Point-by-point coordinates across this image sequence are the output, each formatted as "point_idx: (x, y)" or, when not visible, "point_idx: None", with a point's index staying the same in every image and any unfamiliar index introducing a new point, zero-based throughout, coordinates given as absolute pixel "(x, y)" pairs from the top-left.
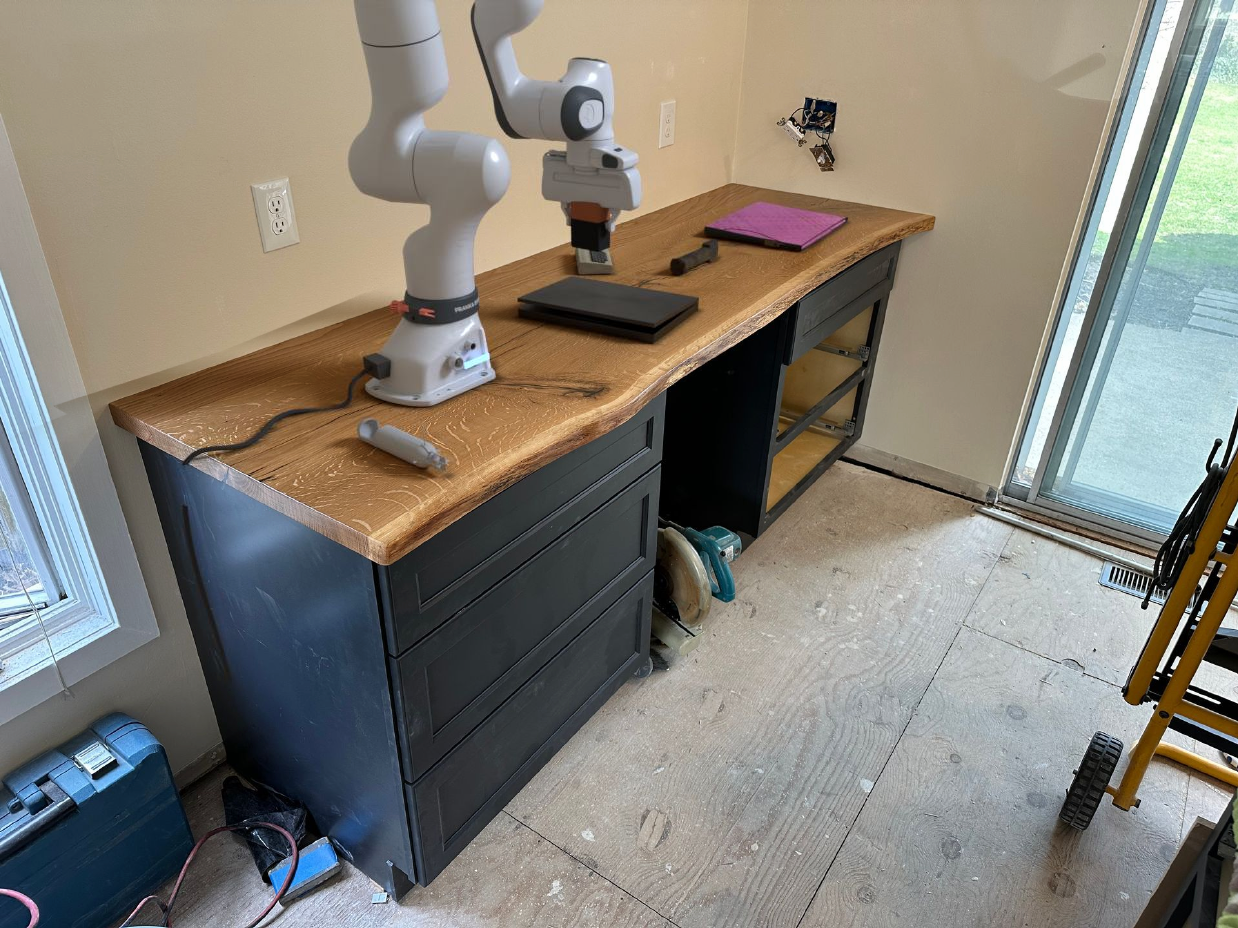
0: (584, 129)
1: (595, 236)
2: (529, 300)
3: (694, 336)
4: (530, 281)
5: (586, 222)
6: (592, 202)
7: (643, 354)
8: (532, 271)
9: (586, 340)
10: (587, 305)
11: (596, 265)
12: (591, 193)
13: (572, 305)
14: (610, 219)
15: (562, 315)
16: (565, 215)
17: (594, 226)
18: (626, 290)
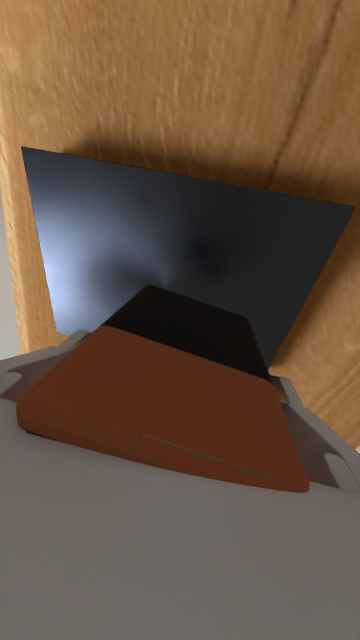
0: None
1: (138, 301)
2: (321, 200)
3: (22, 222)
4: (329, 383)
5: (171, 342)
6: (79, 450)
7: (40, 89)
8: (332, 419)
9: (162, 123)
10: (183, 218)
11: None
12: (16, 588)
13: (212, 203)
14: (42, 356)
15: None
16: (311, 414)
17: (126, 320)
18: None
